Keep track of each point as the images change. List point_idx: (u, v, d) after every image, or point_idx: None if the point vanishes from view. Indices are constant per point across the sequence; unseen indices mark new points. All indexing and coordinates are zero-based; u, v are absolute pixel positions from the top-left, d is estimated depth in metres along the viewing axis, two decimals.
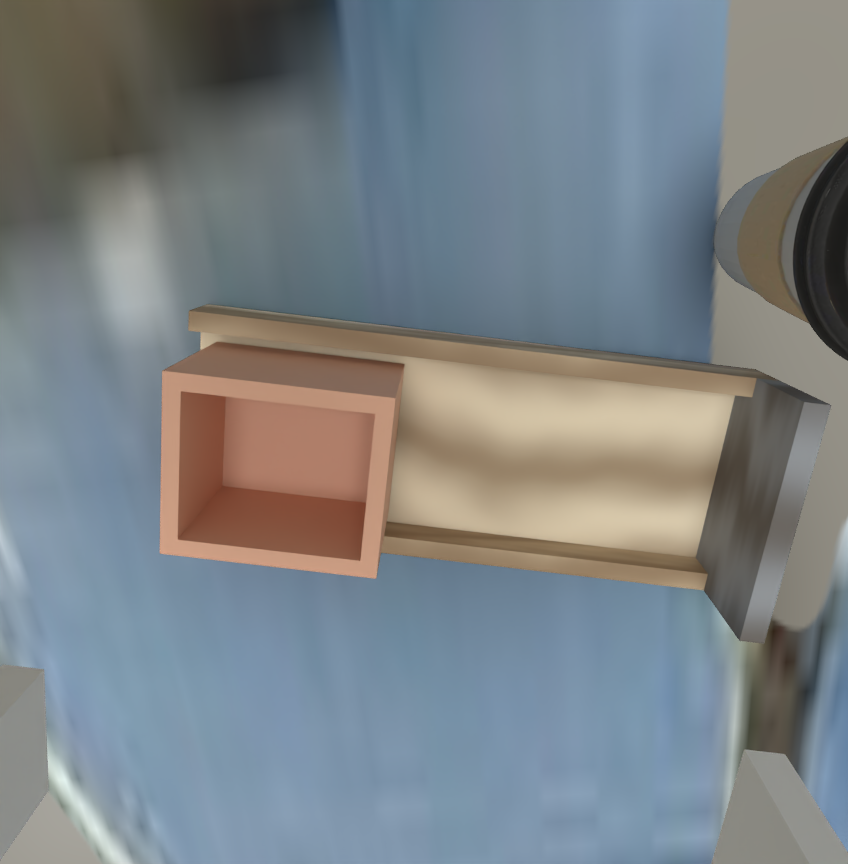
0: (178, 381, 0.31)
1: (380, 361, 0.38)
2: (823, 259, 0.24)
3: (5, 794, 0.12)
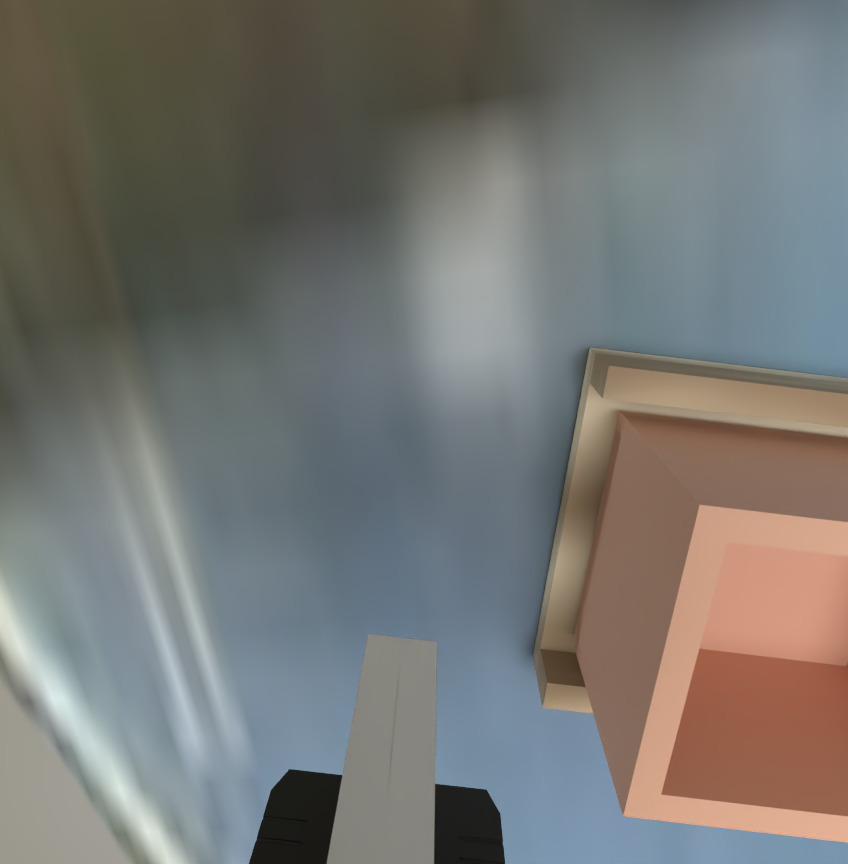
0: (727, 524, 0.16)
1: None
2: None
3: None
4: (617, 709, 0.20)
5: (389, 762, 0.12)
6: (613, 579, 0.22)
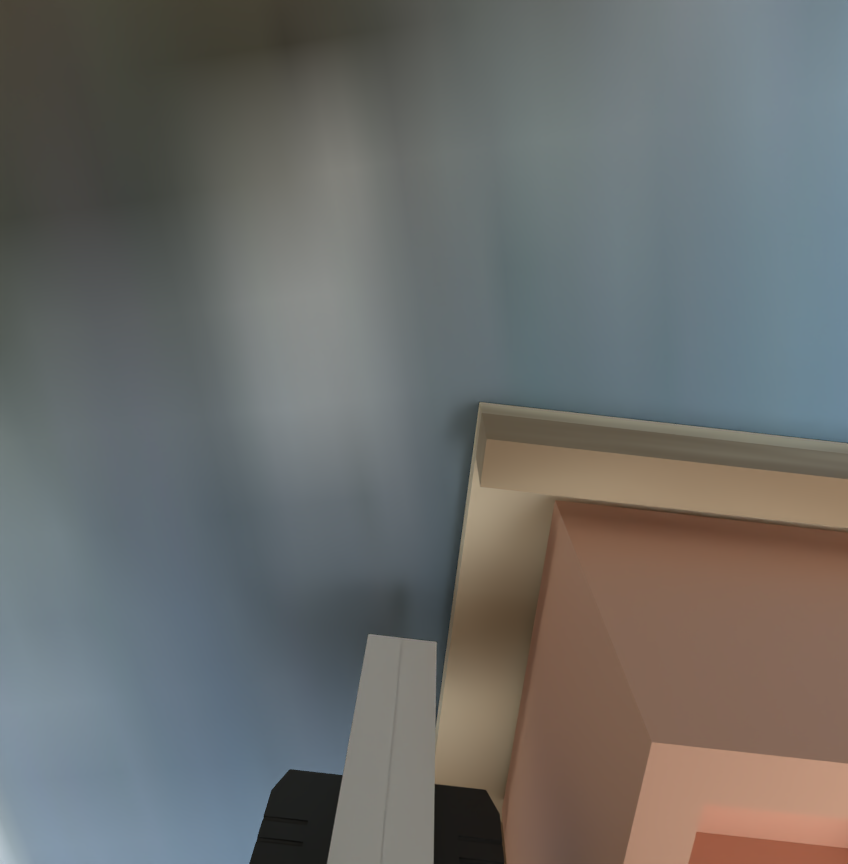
0: (703, 775, 0.09)
1: None
2: None
3: None
4: None
5: (388, 762, 0.12)
6: (542, 762, 0.14)
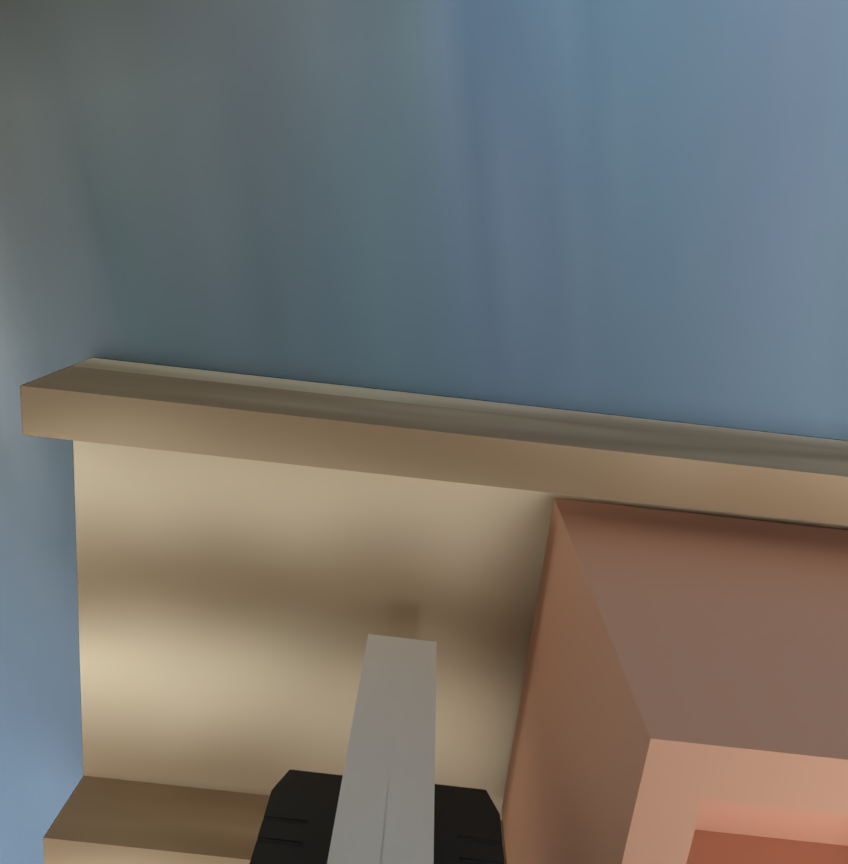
0: (702, 771, 0.09)
1: None
2: None
3: None
4: None
5: (389, 762, 0.12)
6: (541, 760, 0.14)
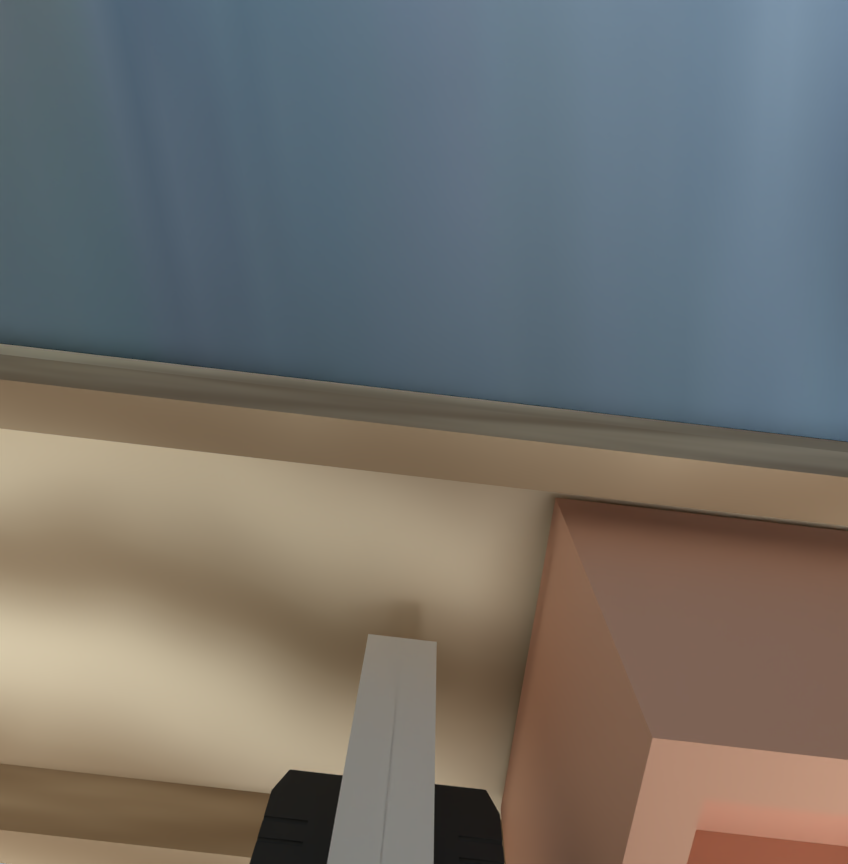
0: (704, 771, 0.09)
1: None
2: None
3: None
4: None
5: (389, 762, 0.12)
6: (541, 758, 0.14)
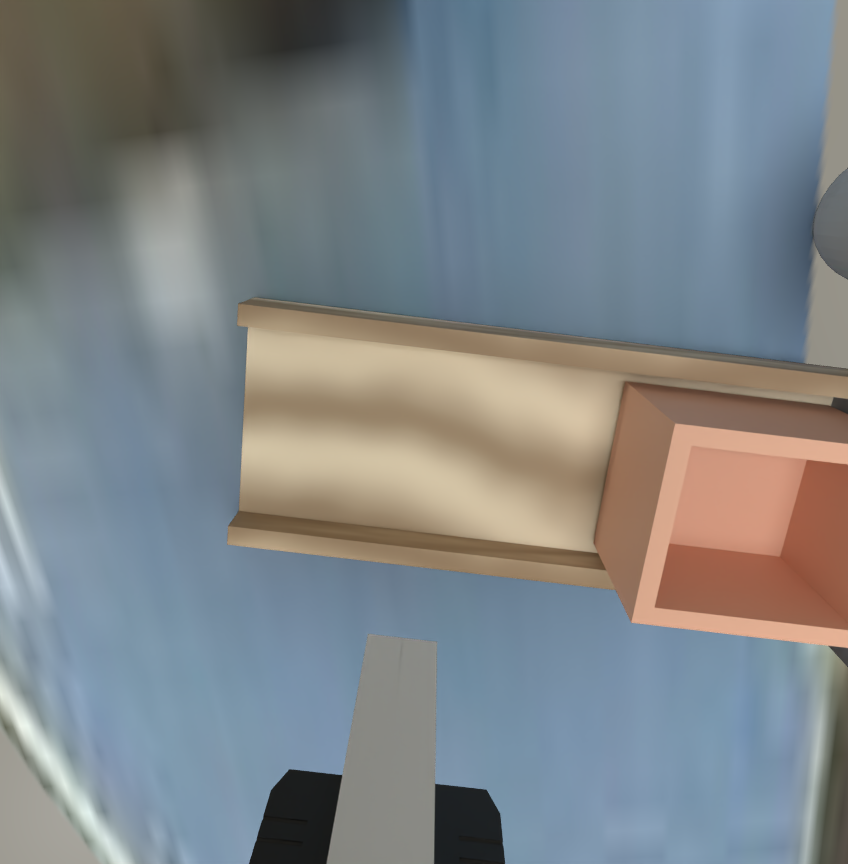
0: (691, 435, 0.28)
1: (804, 403, 0.35)
2: None
3: None
4: (626, 565, 0.32)
5: (389, 762, 0.12)
6: (622, 488, 0.33)
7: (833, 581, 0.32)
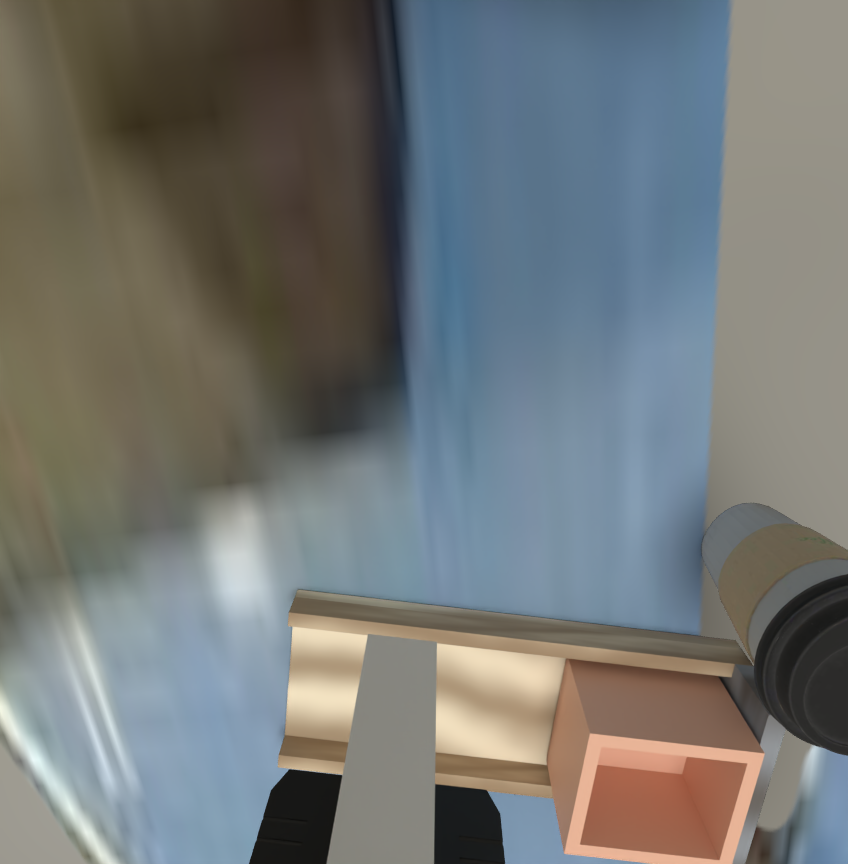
0: (601, 740, 0.41)
1: None
2: (774, 680, 0.34)
3: None
4: (563, 805, 0.45)
5: (389, 762, 0.12)
6: (563, 740, 0.47)
7: (709, 814, 0.45)
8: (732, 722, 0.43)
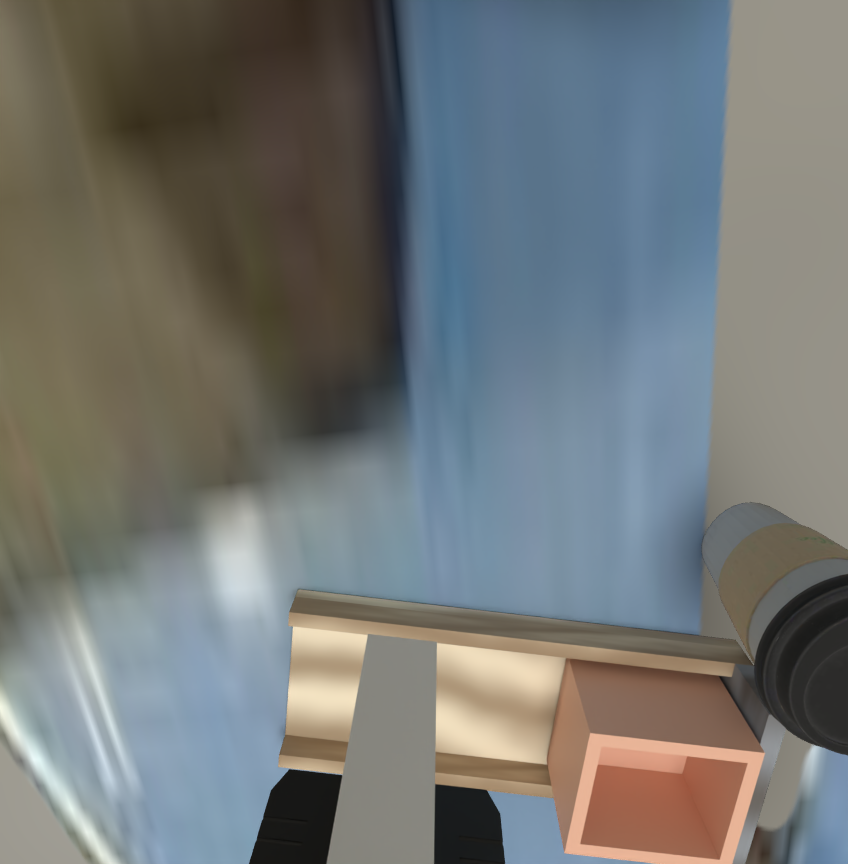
0: (601, 740, 0.41)
1: None
2: (775, 680, 0.34)
3: None
4: (563, 804, 0.45)
5: (389, 762, 0.12)
6: (563, 740, 0.47)
7: (709, 814, 0.45)
8: (732, 722, 0.43)
